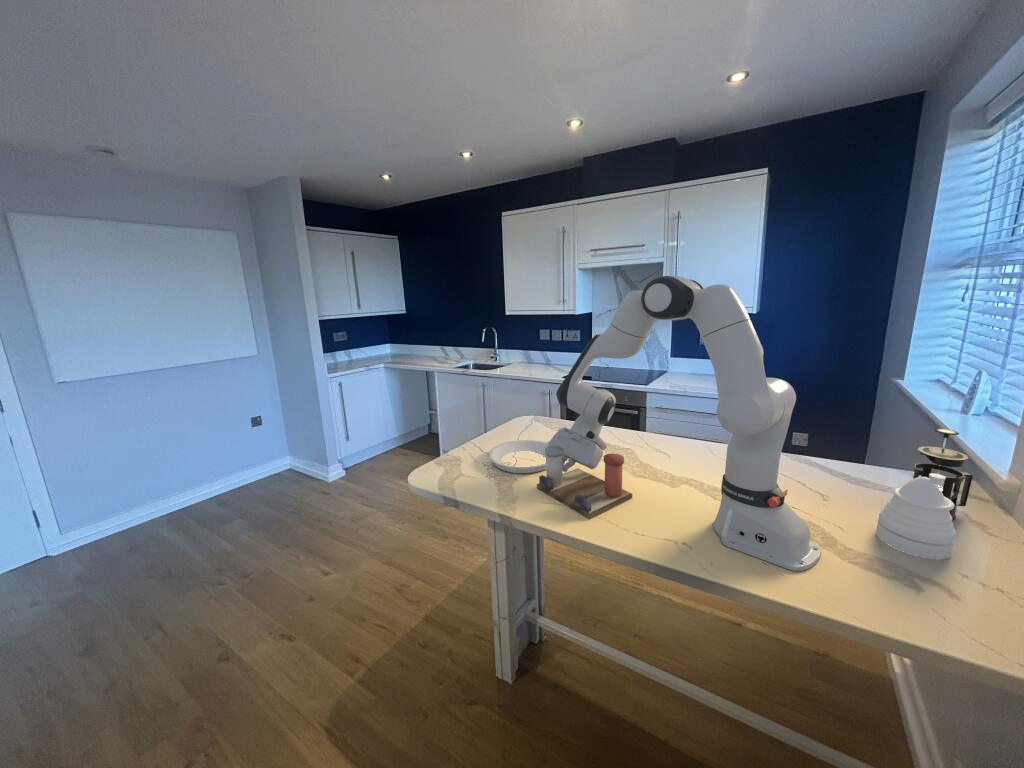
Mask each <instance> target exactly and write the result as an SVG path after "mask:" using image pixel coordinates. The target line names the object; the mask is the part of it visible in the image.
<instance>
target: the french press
mask: <svg viewBox="0 0 1024 768" xmlns="http://www.w3.org/2000/svg"><path fill="white" fill-rule="evenodd" d="M935 432H937V433H940V434H942V435H943V436H942V437H943V438H944V440H943V444H942V447H938V446H919V447H917V451H918V452H919V455H920V456H925V457H927V459H928V460H929V461H931V462H932V463H927V462H922V463H921V462H920V463H916V464H914V468H913V476H912V479H914V478H917V477H927V478H929V474H930V473H932V470H937V471H936V474H940V471H943V472H946V473H949V474H952V475H955V477H947V476H945V477H946V479H945V481H944V482H943V486H942V485H940V484H937V486H938V487H939V488H940V490H941V492H942V494H943V496H944V497H946V498H948V499H949V500H951V501H952V502H953V503H954V505H955V506H954V509H952V510H950V511H949V512H950V515H951V516H952V522H953V521H955V520H956V517H957V516H956V513H957V508H958V507H966V506H967V501H968V497H969V494H970V490H971V486H972V481H973V475H972V474H971V473H969V472H964V471H960V470H958V469H956V468H962V467H964V466H965V462H966V461H968V460H969V456H968V455H967V454H965V453H963V452H960V451H957V450H952V449H950V448H945V447H946V443H947V439H949V437H950V436H958V435H960V433H959V432H958V431H956V430H952V429H949V428H948V429H947V428H936V429H935ZM921 469H922V470H921ZM963 482H964V483H963ZM962 483H963V488H962V491H961V494H960V488H961V484H962ZM959 494H960V495H961V496H960V499H959V501H958V496H959Z"/></svg>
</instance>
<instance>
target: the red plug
mask: <svg viewBox="0 0 1024 768" xmlns="http://www.w3.org/2000/svg"><path fill="white" fill-rule="evenodd" d="M603 462H604V481H605V494H606V495H608V496H612V497H617V496H620V495H621V494H622V489H623V464H624V463H625V457H624V456H623V455H621V454H618V453H607V454H605V455H603Z"/></svg>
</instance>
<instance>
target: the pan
mask: <svg viewBox="0 0 1024 768" xmlns="http://www.w3.org/2000/svg"><path fill="white" fill-rule="evenodd" d="M549 442H550V440H548V441H543V440H542V441H541V440H534V439H524V440H523V439H522V440H521V439H518V440H511V441H506V442H503V443H500V444H498V445H495V446H494V447H493V448H491V449H490V450H489V453H488V458H489V460H490V461H491V462H493V465H494V466H495V467H496V468H497V469H498V470H500V469H501V470H500V471H503V472H505V471H507V472H506V473H509V472H510V474H516V473H517V474H518V475H519V474H520V475H526V474H527V475H529V474H530V475H531V474H536V473H537V474H538V473H540V472H543V471H546V463H545V464H541V465H537V466H530V467H514V466H508V465H504V464H501V462H500V461H501V458H502V457H503V456H504V455H506V454H508V453H511V452H516V451H517V452H519V451H531V452H535V453H538V454H541V455H543V457H545V458H546V455H545V448H547V447H548V443H549Z"/></svg>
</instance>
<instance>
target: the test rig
mask: <svg viewBox="0 0 1024 768" xmlns="http://www.w3.org/2000/svg"><path fill="white" fill-rule="evenodd" d="M538 480H539V482H538V483H536V489H537V490H539V491H540V492H543V493H544V494H546V495H547V496H549V497H551V498H552V499H554V500H556V501H558V502H560V503H561V504H563V505H564V506H567V507H568V508H569V509H571V510H573V511H575V512H576V513H578V514H580V515H581V516H582V517H583V516H584V517H585V518H587V519H589V520H591V519H593V518H595V517H597V516H600V515H602V514H603V513H605V512H608V511H610V510H611V509H614V508H616V507H618V506H620V505H622V504H624V503H626V502H627V501H630V500H632V499H633V493H632V492H629V491H628V490H626V489H624V488H622V494H621V495H620V496H617V497H612V496H608V495H606V494H605V479H601V478H599V477H596V476H595V475H593V474H591V473H589V472H586V471H584V470H582V469H580V468H575V469H572V470H570V471H567V472H564V473H562V484H561V485H559V486H553V480H551V479H549V478H547V476H545V475H543V474H542V475H539V478H538Z"/></svg>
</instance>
